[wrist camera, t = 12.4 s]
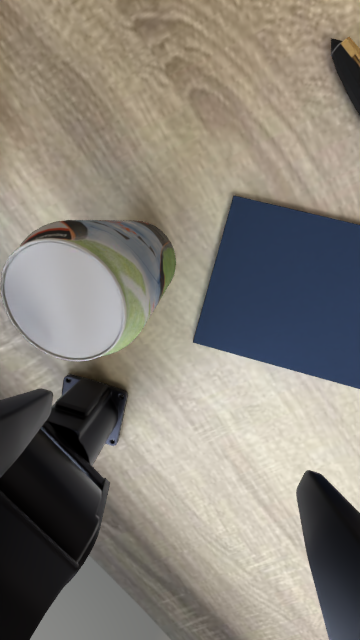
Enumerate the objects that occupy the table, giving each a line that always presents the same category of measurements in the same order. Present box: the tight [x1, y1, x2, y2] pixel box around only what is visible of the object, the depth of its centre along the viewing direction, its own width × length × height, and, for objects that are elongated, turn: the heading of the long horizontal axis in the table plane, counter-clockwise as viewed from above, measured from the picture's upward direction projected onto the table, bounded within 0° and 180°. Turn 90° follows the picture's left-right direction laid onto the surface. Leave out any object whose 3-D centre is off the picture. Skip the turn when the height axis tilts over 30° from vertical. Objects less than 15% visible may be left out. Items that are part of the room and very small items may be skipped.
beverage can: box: [0, 220, 176, 361], centre depth 14 cm, size 6×7×12 cm
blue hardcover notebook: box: [193, 196, 360, 389], centre depth 18 cm, size 12×20×1 cm, turn 76°
